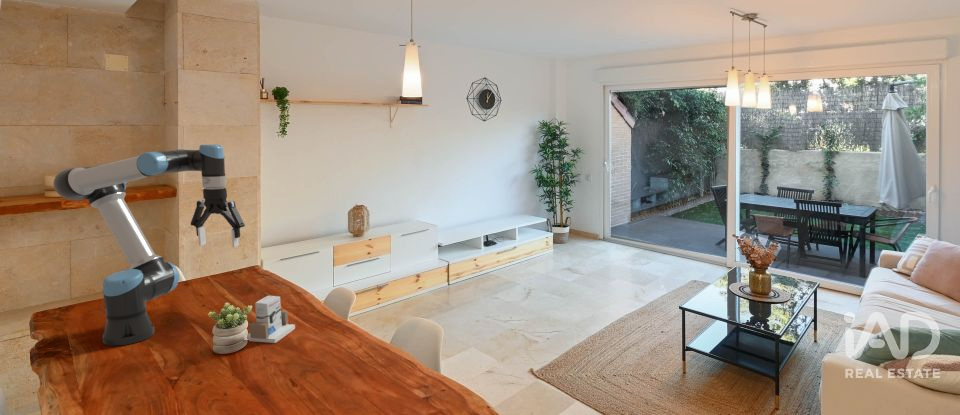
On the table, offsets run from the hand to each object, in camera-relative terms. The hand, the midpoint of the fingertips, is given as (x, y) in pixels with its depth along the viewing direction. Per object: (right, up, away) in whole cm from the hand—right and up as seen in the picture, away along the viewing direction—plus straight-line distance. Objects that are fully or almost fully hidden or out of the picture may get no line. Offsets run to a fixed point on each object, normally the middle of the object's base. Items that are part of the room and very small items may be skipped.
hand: (219, 245), depth 181 cm
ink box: (+19, -31, -1) cm, 36 cm away
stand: (+19, -32, -1) cm, 37 cm away
